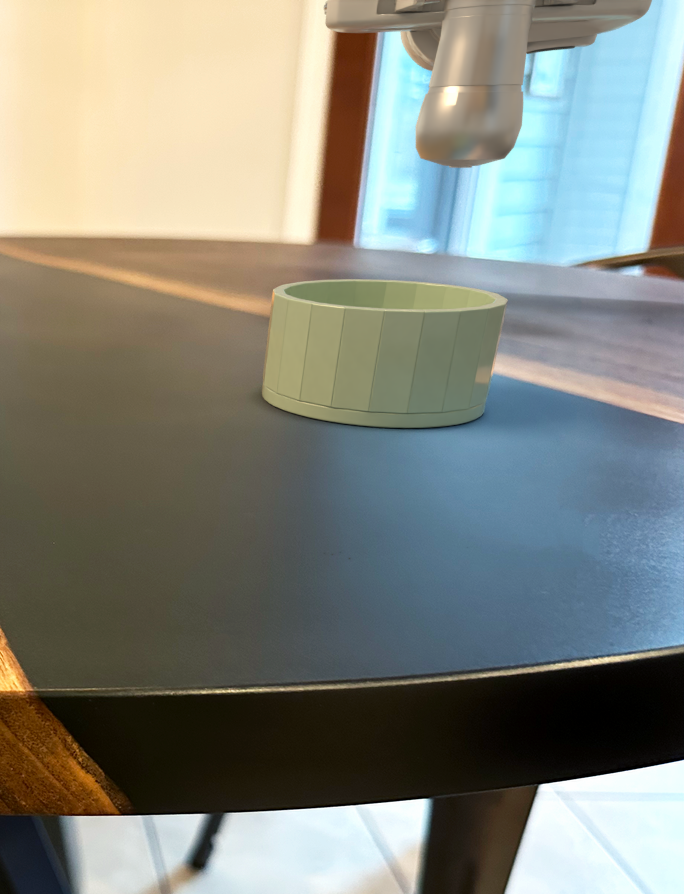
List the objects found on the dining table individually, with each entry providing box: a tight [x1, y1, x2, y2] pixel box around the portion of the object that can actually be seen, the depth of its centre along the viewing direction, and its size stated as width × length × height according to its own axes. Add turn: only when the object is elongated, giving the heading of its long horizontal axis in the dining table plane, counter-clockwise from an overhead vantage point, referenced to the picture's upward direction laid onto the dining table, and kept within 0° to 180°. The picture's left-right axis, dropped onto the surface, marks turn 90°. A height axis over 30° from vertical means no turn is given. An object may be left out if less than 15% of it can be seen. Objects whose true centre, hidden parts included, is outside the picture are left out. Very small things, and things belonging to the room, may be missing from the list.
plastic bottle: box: [415, 0, 537, 169], centre depth 66 cm, size 6×7×20 cm
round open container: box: [261, 278, 509, 429], centre depth 57 cm, size 12×12×6 cm
